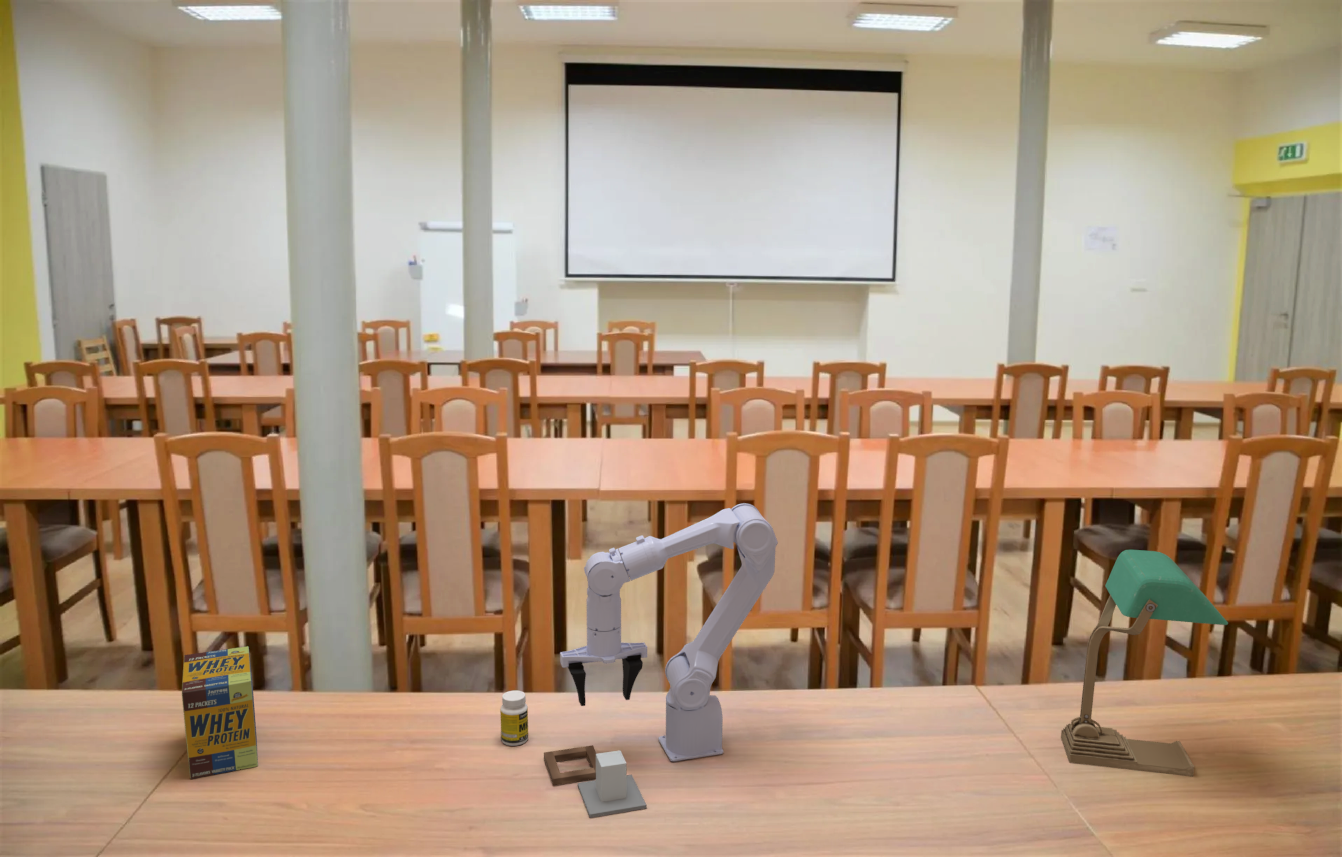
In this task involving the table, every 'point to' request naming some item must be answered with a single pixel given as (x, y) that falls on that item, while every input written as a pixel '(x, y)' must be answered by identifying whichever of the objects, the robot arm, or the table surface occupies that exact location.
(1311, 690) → the table surface
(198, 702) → the protein box
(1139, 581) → the banker's lamp
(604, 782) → the block
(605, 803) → the coaster
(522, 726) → the supplement bottle
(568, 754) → the holder
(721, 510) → the robot arm
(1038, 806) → the table surface
